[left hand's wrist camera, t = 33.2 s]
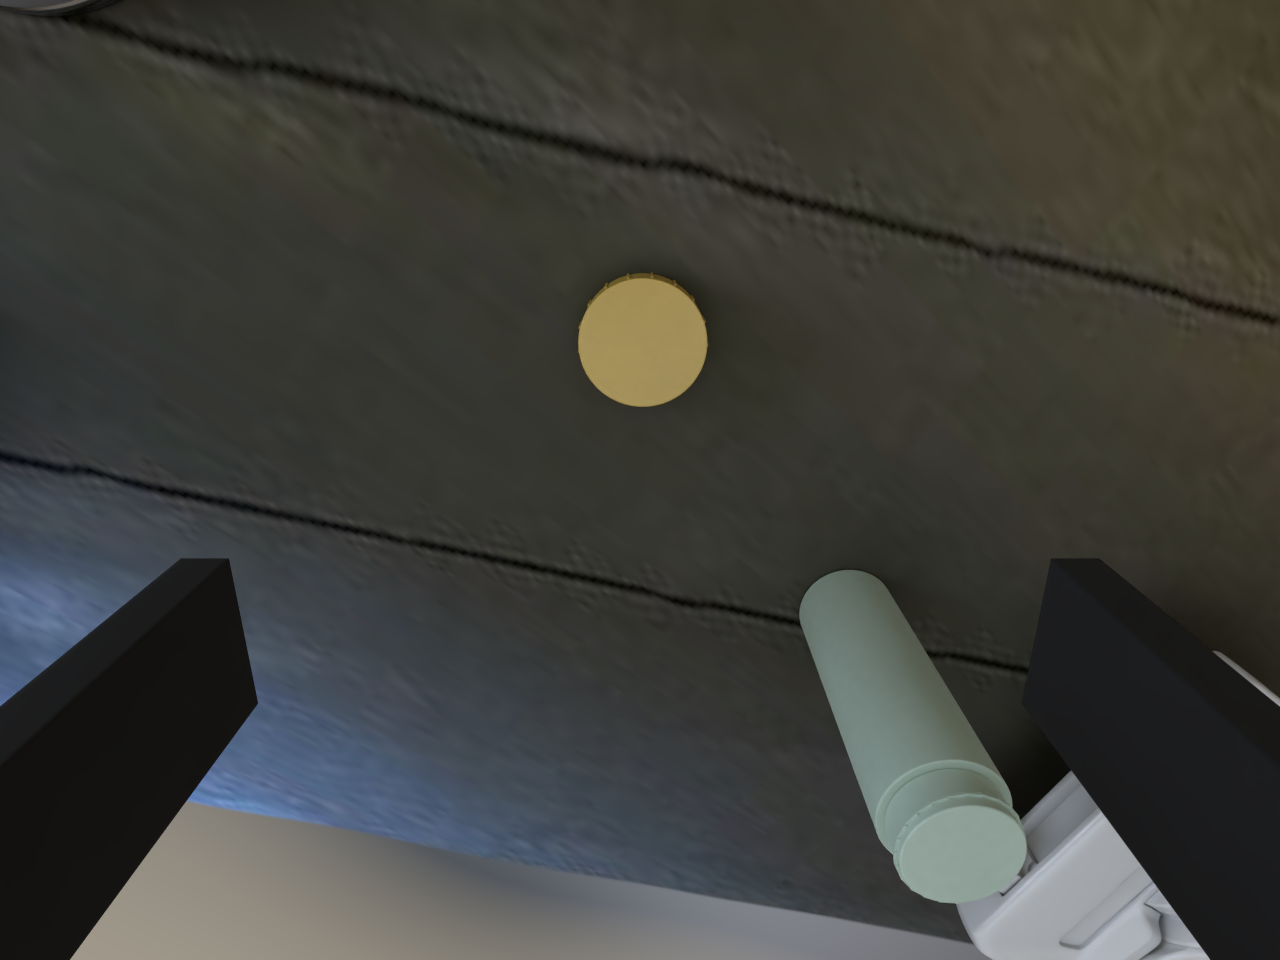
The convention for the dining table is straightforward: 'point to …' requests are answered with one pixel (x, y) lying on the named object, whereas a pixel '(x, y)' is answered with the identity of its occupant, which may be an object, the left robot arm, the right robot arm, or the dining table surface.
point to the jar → (911, 745)
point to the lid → (642, 340)
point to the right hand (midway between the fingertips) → (1011, 757)
